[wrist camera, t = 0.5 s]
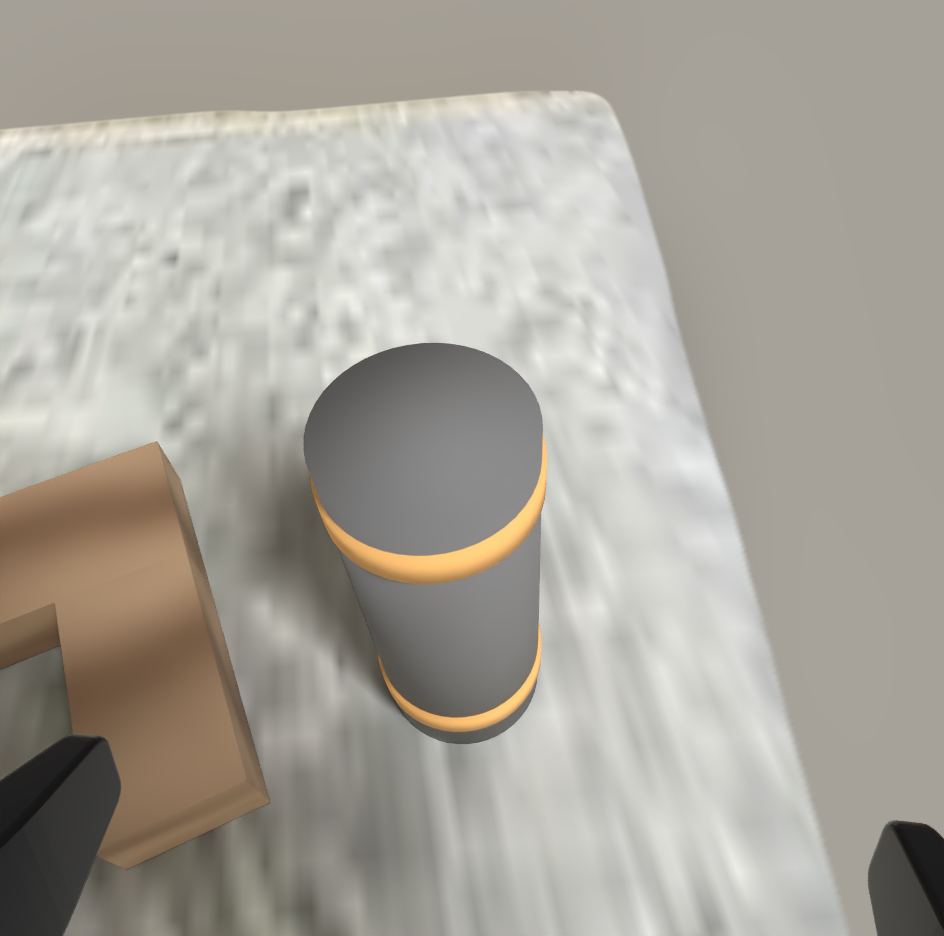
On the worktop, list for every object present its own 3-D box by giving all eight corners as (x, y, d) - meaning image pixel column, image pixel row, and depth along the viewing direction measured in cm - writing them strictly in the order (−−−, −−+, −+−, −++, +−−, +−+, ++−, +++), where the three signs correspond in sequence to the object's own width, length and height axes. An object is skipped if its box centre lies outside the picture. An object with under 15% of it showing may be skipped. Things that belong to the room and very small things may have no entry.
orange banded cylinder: (527, 761, 25) (525, 552, 14) (370, 730, 26) (262, 513, 15) (550, 613, 28) (563, 352, 17) (409, 591, 29) (341, 329, 18)
